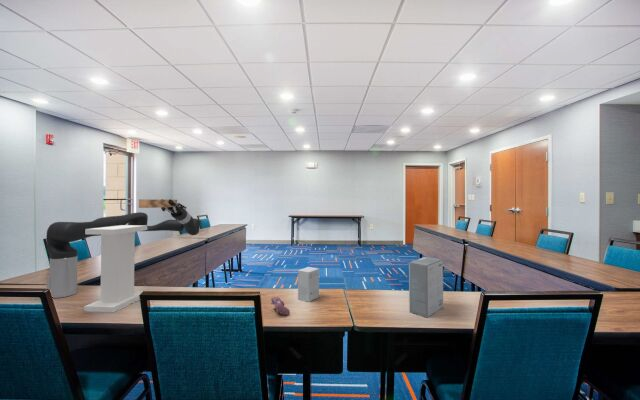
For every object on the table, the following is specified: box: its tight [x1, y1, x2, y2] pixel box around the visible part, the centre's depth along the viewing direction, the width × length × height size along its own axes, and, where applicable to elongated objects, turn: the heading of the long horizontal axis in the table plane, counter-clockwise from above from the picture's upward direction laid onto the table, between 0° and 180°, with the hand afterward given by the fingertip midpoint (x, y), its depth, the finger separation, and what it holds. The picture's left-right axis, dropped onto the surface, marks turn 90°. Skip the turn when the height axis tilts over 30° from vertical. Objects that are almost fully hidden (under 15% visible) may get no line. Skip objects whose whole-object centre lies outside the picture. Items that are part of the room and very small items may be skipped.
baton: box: [138, 198, 178, 209], centre depth 139 cm, size 24×4×4 cm, turn 176°
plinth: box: [83, 224, 148, 313], centre depth 113 cm, size 18×12×32 cm, turn 176°
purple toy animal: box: [270, 295, 291, 316], centre depth 106 cm, size 10×5×7 cm, turn 22°
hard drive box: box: [408, 256, 444, 318], centre depth 109 cm, size 16×8×20 cm, turn 134°
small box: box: [297, 266, 320, 303], centre depth 121 cm, size 8×6×13 cm
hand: (165, 200), depth 144 cm, fingers closed on baton, 4 cm apart
